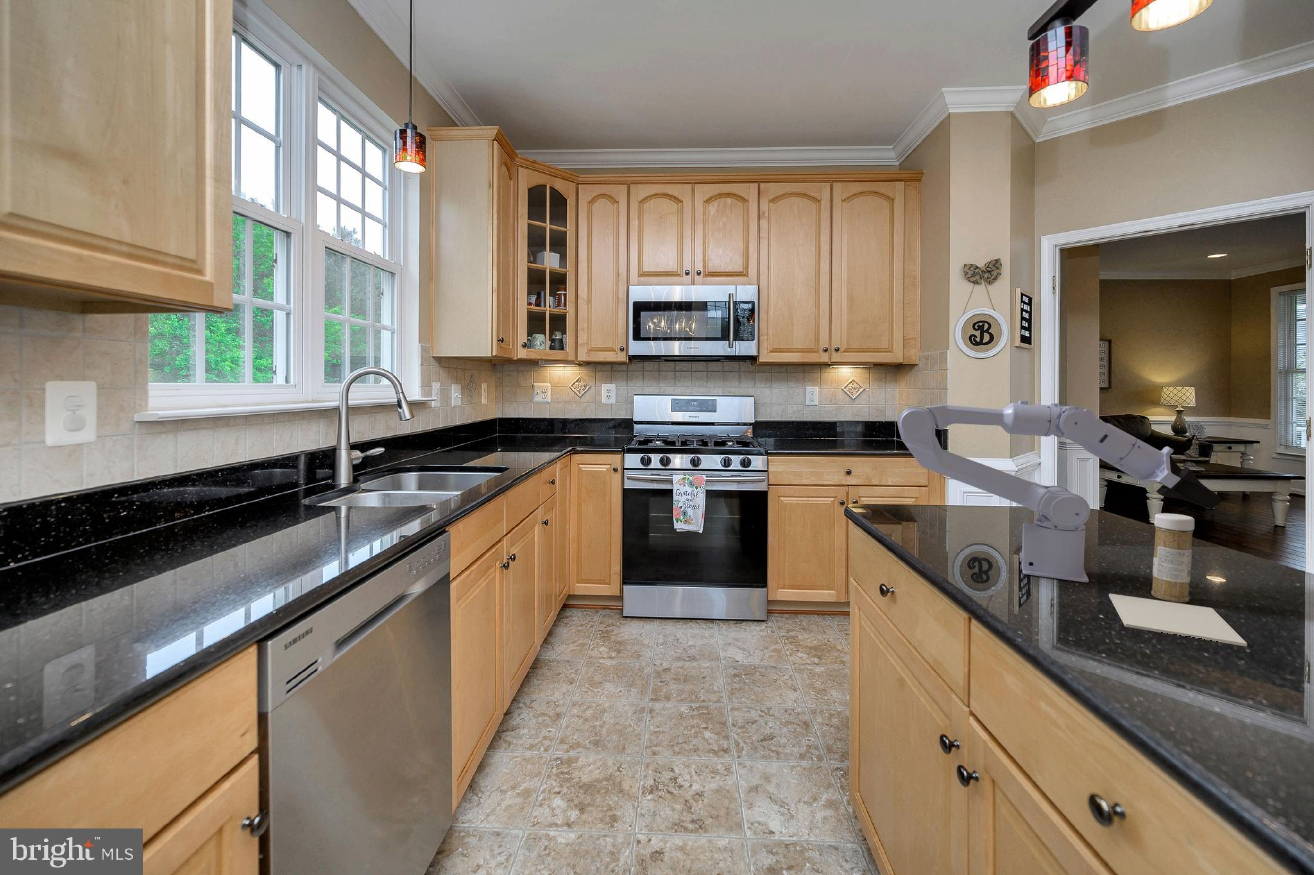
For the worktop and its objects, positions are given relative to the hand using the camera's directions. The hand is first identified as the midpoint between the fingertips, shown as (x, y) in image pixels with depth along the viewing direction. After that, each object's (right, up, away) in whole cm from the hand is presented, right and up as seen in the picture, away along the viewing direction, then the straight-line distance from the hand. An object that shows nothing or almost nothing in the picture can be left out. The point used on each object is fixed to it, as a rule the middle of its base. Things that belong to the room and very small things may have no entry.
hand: (1206, 497), depth 90 cm
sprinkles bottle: (-10, -16, -4) cm, 19 cm away
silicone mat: (-17, -16, -11) cm, 26 cm away
